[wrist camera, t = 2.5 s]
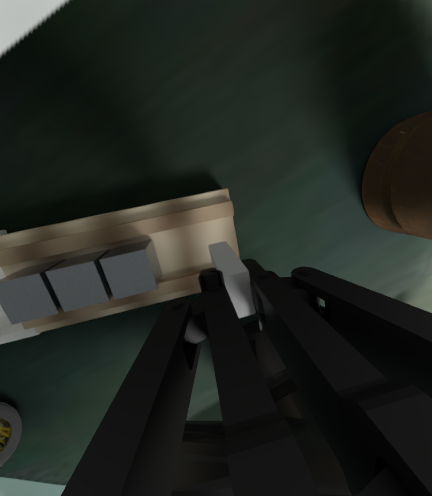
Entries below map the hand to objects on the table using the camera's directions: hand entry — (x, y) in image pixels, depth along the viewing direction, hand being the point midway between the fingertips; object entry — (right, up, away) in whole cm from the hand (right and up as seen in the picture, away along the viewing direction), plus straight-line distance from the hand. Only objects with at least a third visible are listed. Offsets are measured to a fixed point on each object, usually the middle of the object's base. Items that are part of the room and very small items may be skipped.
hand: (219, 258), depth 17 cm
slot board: (-10, 0, +8) cm, 13 cm away
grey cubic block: (-17, -3, +4) cm, 18 cm away
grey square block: (-13, -2, +5) cm, 14 cm away
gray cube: (-9, -1, +5) cm, 10 cm away
